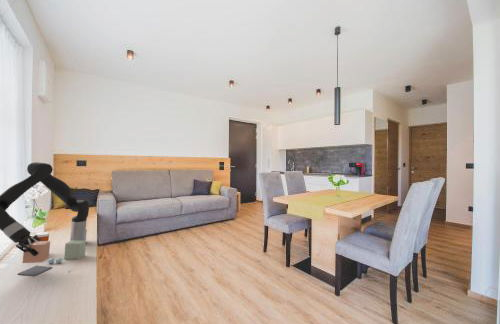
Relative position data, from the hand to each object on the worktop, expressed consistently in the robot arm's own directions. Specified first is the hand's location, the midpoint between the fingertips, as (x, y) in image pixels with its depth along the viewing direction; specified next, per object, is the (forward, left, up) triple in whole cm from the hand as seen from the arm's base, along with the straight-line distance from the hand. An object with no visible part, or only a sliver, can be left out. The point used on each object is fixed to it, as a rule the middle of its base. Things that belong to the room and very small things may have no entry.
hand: (40, 252), depth 127 cm
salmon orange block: (+1, -2, -4) cm, 5 cm away
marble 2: (-11, +1, -11) cm, 15 cm away
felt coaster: (0, -2, -11) cm, 11 cm away
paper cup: (-21, -21, -11) cm, 31 cm away
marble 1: (-10, -3, -11) cm, 15 cm away
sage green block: (-21, +3, -11) cm, 23 cm away
